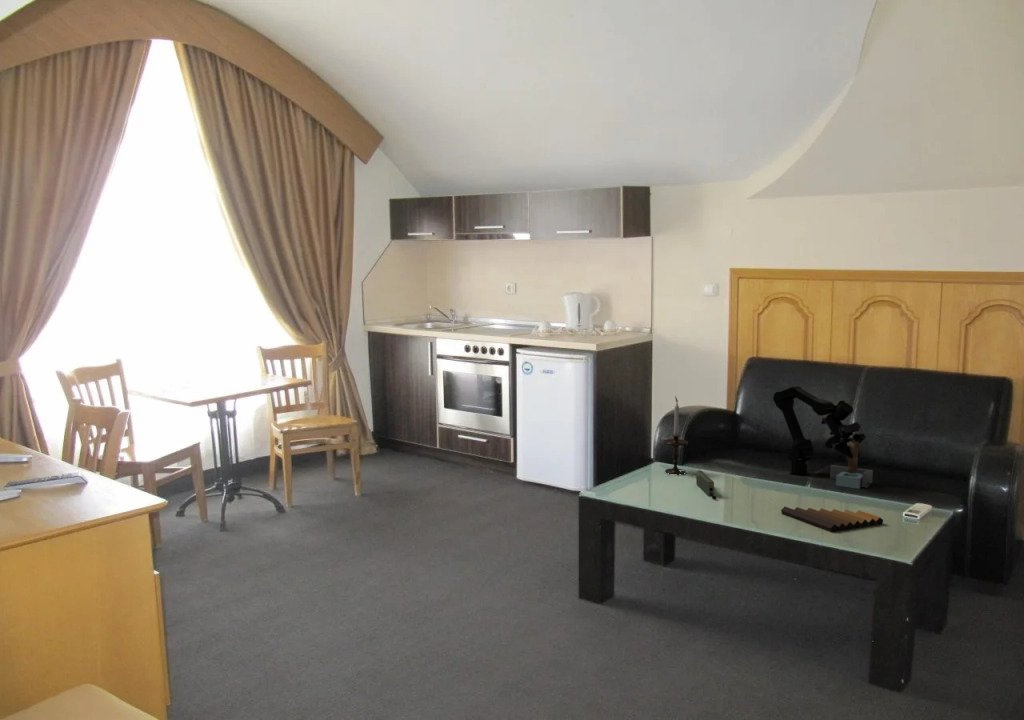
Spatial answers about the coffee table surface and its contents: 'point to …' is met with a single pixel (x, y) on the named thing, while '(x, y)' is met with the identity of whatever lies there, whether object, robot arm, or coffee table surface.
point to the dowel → (853, 462)
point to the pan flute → (833, 518)
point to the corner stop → (865, 473)
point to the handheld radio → (705, 484)
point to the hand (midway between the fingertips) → (855, 457)
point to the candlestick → (675, 443)
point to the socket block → (849, 480)
